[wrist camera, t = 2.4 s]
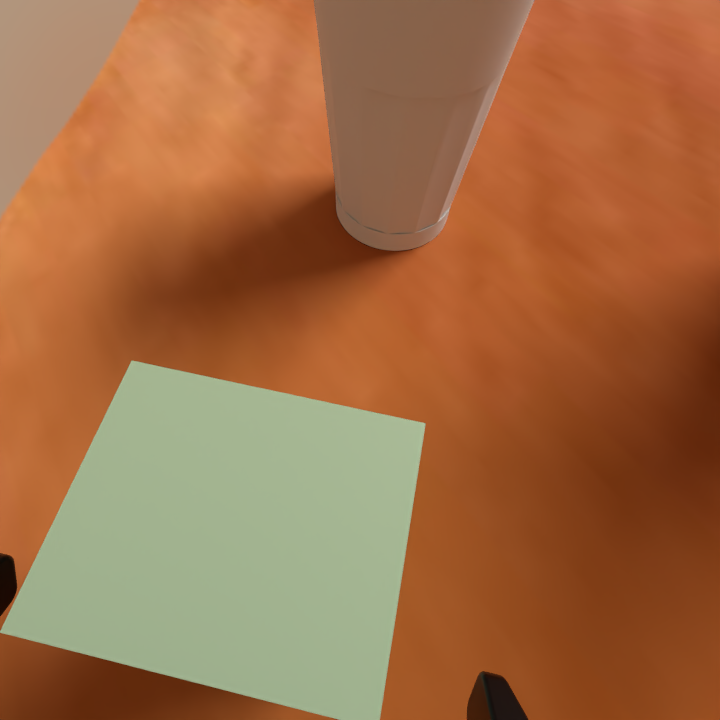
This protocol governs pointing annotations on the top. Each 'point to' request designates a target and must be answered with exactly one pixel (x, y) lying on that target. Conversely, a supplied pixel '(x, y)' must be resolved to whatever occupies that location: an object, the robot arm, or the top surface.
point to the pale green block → (232, 542)
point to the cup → (408, 105)
